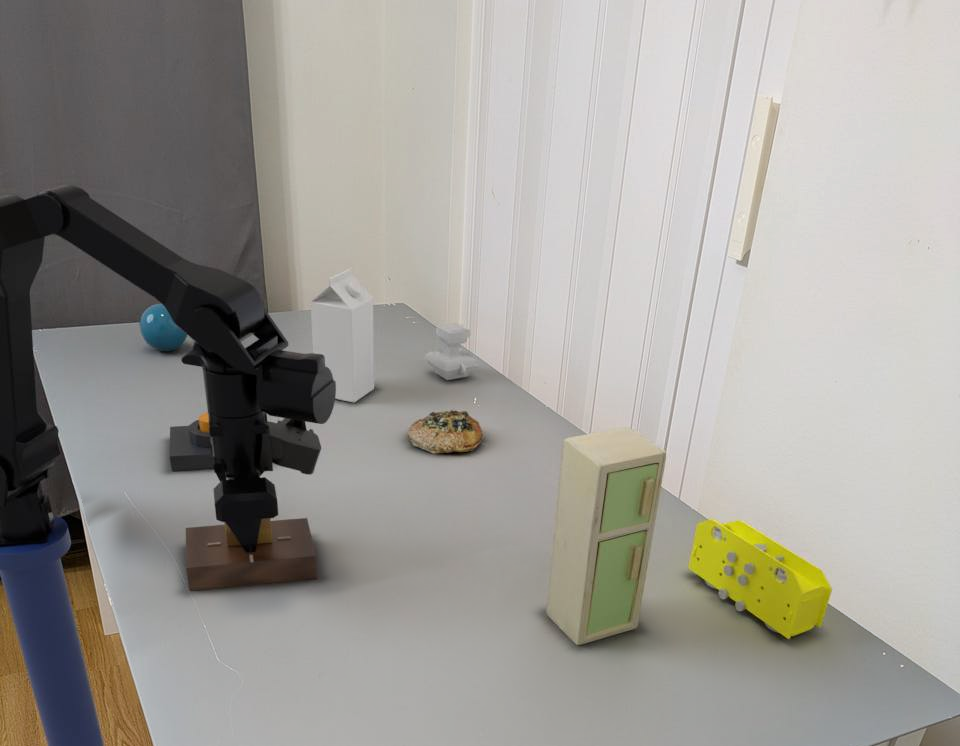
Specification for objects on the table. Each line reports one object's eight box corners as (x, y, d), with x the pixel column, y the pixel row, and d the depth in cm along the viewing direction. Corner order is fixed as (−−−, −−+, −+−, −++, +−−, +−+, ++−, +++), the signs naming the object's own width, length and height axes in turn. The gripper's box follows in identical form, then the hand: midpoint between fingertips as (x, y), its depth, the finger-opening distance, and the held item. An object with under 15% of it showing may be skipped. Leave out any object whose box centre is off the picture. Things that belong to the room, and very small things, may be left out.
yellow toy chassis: (684, 575, 112) (696, 512, 107) (719, 563, 114) (733, 502, 110) (783, 646, 101) (802, 580, 96) (820, 632, 103) (840, 567, 99)
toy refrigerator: (579, 651, 98) (603, 467, 87) (543, 614, 104) (561, 436, 92) (642, 633, 102) (673, 453, 90) (604, 598, 107) (629, 424, 95)
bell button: (200, 434, 129) (198, 422, 128) (199, 424, 132) (198, 412, 131) (227, 433, 130) (226, 421, 129) (226, 422, 133) (224, 411, 132)
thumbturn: (227, 546, 106) (223, 513, 104) (226, 539, 108) (222, 506, 105) (272, 542, 108) (269, 509, 105) (271, 535, 109) (268, 503, 107)
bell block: (171, 471, 128) (167, 443, 126) (172, 440, 136) (168, 414, 134) (262, 465, 131) (259, 438, 129) (257, 435, 139) (255, 410, 136)
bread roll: (464, 419, 147) (466, 390, 143) (494, 457, 139) (497, 428, 136) (397, 431, 143) (397, 402, 139) (425, 471, 135) (426, 441, 132)
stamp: (421, 370, 164) (422, 322, 159) (454, 364, 167) (456, 317, 163) (448, 388, 158) (449, 338, 153) (481, 381, 161) (483, 332, 156)
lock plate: (189, 591, 104) (185, 567, 102) (188, 549, 111) (185, 526, 110) (317, 579, 107) (315, 555, 106) (308, 539, 115) (307, 516, 113)
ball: (144, 343, 169) (137, 298, 164) (190, 341, 171) (185, 297, 166) (142, 358, 163) (134, 312, 158) (190, 357, 164) (184, 310, 160)
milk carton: (314, 395, 152) (308, 275, 142) (336, 381, 158) (332, 264, 147) (354, 403, 150) (350, 282, 140) (374, 389, 156) (372, 271, 145)
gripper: (324, 439, 93) (330, 573, 102) (304, 372, 108) (311, 494, 117) (207, 447, 91) (224, 584, 99) (203, 377, 105) (218, 501, 114)
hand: (249, 537), depth 107 cm, fingers open, 6 cm apart
